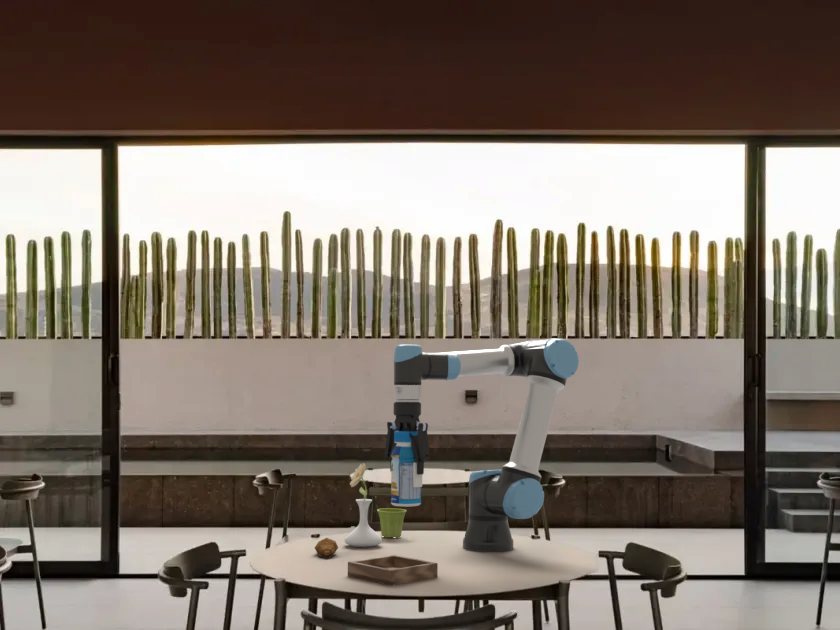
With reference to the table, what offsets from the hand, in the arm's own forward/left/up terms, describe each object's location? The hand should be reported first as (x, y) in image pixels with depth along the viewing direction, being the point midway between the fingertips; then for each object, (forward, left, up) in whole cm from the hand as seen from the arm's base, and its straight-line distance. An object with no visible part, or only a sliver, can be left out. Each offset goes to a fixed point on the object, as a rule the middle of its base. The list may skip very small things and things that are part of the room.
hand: (406, 485), depth 262 cm
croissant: (+6, -26, -22) cm, 34 cm away
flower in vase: (-11, -30, -21) cm, 38 cm away
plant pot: (-30, -38, -21) cm, 53 cm away
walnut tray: (+14, +10, -21) cm, 27 cm away
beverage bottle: (0, 0, -5) cm, 5 cm away
